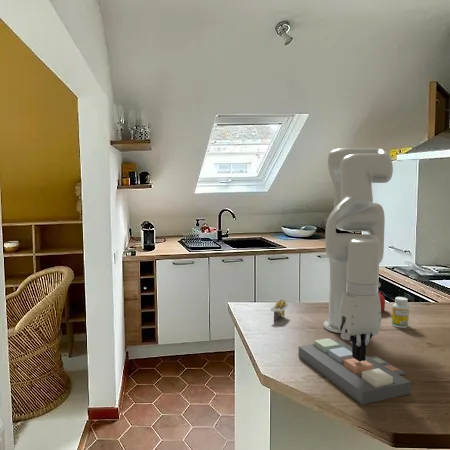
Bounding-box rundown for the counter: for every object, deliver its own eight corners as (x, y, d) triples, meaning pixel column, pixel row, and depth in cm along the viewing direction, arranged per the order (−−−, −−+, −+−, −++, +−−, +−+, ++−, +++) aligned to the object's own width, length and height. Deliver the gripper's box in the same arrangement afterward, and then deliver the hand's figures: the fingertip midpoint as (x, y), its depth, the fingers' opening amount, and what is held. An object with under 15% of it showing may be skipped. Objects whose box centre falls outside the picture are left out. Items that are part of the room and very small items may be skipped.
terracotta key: (359, 366, 116) (360, 357, 116) (372, 375, 111) (373, 364, 111) (343, 369, 114) (344, 359, 114) (356, 378, 110) (356, 368, 109)
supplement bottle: (405, 329, 149) (406, 301, 148) (389, 325, 152) (390, 298, 151) (410, 325, 153) (412, 298, 152) (394, 321, 156) (396, 295, 155)
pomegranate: (379, 306, 174) (380, 283, 173) (389, 314, 164) (391, 290, 163) (354, 306, 174) (355, 283, 172) (363, 314, 164) (364, 290, 163)
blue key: (343, 356, 122) (343, 347, 122) (354, 363, 118) (355, 354, 117) (328, 359, 121) (328, 349, 120) (339, 366, 116) (339, 356, 116)
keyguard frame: (339, 349, 132) (339, 339, 131) (409, 393, 106) (410, 381, 105) (298, 356, 127) (298, 346, 126) (361, 404, 101) (362, 392, 100)
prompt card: (376, 357, 126) (376, 355, 126) (405, 374, 116) (405, 371, 116) (362, 360, 124) (362, 357, 124) (389, 377, 114) (389, 374, 114)
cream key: (377, 378, 110) (378, 368, 109) (392, 387, 105) (393, 377, 105) (361, 382, 108) (361, 371, 107) (375, 391, 103) (375, 380, 103)
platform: (303, 315, 164) (303, 297, 163) (288, 330, 148) (288, 311, 147) (272, 310, 169) (272, 293, 168) (255, 325, 153) (255, 306, 152)
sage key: (328, 347, 129) (329, 338, 129) (339, 353, 124) (339, 344, 124) (314, 349, 127) (314, 340, 127) (323, 356, 122) (324, 346, 122)
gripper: (376, 282, 116) (372, 349, 118) (327, 287, 111) (325, 357, 113) (396, 289, 109) (392, 360, 111) (346, 295, 104) (343, 369, 106)
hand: (358, 358), depth 112 cm, fingers closed
